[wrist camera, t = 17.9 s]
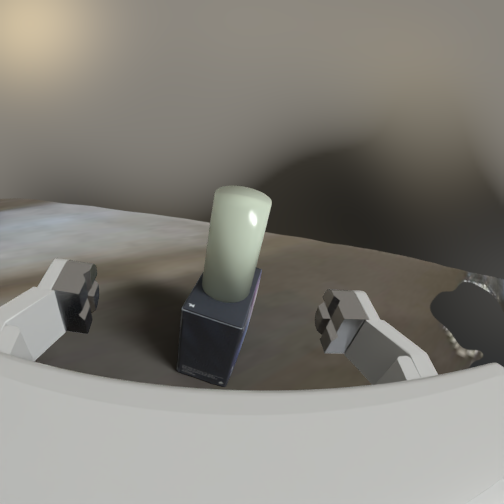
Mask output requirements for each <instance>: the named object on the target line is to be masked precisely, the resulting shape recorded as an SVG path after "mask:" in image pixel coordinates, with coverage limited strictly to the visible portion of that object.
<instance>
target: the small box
mask: <svg viewBox="0 0 504 504" xmlns="http://www.w3.org/2000/svg"><path fill="white" fill-rule="evenodd" d="M261 273H262V269H259V268H256V269H255V273H254V277H253V281H252V285H251V289H250V293H249V295H248V296H247V297H246V298H245V299H244V300H242V301H239V302H234V303H226V302H220V301H217V300H215V299H213V298H211V297H210V296H208V295H207V294H206V293H205V292H204V290H203V288H202V279H203V273H202V275H201V276H200V278H199V280H198V281H197V283H196V285H195V286H194V288H193V290H192V291H191V293H190V295H189V296H188V298H187V300H186V302H185V303H184V305H183V306H182V308H181V319H180V333H179V348H178V360H177V369H176V370H177V371H178V372H180V373H183V374H187V375H189V376H192V377H195V378H198V379H201V380H204V381H207V382H209V383H212V384H216V385H219V386H223V387H225V386H226V385H227V383H228V380H229V378H230V376H231V373H232V371H233V368H234V365H235V363H236V360H237V357H238V354H239V351H240V349H241V346H242V343H243V340H244V337H245V334H246V331H247V328H248V324H249V321H250V317H251V314H252V310H253V307H254V303H255V299H256V295H257V291H258V287H259V282H260V278H261Z"/></svg>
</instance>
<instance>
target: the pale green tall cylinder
mask: <svg viewBox="0 0 504 504" xmlns="http://www.w3.org/2000/svg"><path fill="white" fill-rule="evenodd" d="M271 204H272V202H271V199H270V198H269V197H268V196H267V195H265V194H264V193H261V192H260V191H257V190H255V189H251V188H247V187H242V186H224V187H220V188H218V189H217V190H216V191H215V196H214V202H213V208H212V214H211V222H210V228H209V235H208V242H207V249H206V256H205V264H204V272H203V279H202V288H203V290H204V292H205V293H206V294H207V295H208V296H210V297H211V298H213V299H215V300H217V301H220V302H226V303H234V302H239V301H242V300H244V299H245V298H246V297H247V296H248V295H249V293H250V289H251V285H252V281H253V277H254V273H255V269H256V265H257V261H258V257H259V253H260V249H261V245H262V241H263V237H264V233H265V229H266V224H267V220H268V216H269V212H270V208H271Z"/></svg>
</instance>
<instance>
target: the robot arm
mask: <svg viewBox="0 0 504 504" xmlns="http://www.w3.org/2000/svg"><path fill="white" fill-rule="evenodd" d="M96 276H97V269H96V265H95V264H92V263H85V262H79V261H73V260H66V259H60V258H56V259H54V260H53V262H52V263H51V265H50V267H49V268H48V270H47V272H46V273H45V275H44V277H43V278H42V280H41V282H40V284H39V285H38V287H33V288H31V289H29V290H28V291H26V292H24V293H23V294H21V295H19V296H18V297H16V298H14V299H13V300H11V301H9V302H8V303H6V304H5V305H3V306H1V307H0V504H504V367H502V366H501V365H499V364H497V363H489V364H485V365H482V366H478V367H474V368H469V369H465V370H460V371H456V372H451V373H446V374H441V375H438V374H437V372H436V370H435V368H434V366H433V364H432V362H431V361H430V359H429V357H428V355H427V353H426V352H424V351H423V350H422V349H420V348H419V347H418V346H417V345H415V344H414V343H413V342H411V341H410V340H409V339H407V338H406V337H405V336H404V335H402V334H401V333H400V332H398V331H397V330H396V329H394V328H393V327H392V326H390V325H389V324H388V323H387V322H385V321H384V320H380V318H379V317H378V315H377V313H376V311H375V309H374V307H373V305H372V303H371V302H370V300H369V298H368V296H367V294H366V293H365V292H364V291H354V290H352V291H348V290H334V289H327V291H326V292H325V293H324V295H323V300H324V302H323V303H322V304H321V305H319V306H318V308H317V311H316V313H315V326H316V329H317V331H318V332H319V333H320V334H322V336H321V338H320V341H321V344H322V347H323V350H324V353H345V354H344V355H345V356H346V357H347V358H348V359H349V360H350V361H351V362H352V363H353V364H354V365H355V366H356V368H357V369H358V370H359V371H360V372H361V373H362V374H363V375H364V376H365V377H366V378H367V379H368V380H369V382H370V383H371V384H372V385H366V386H356V387H345V388H331V389H314V390H283V391H251V390H220V389H202V388H189V387H177V386H167V385H158V384H149V383H141V382H134V381H127V380H120V379H114V378H108V377H102V376H97V375H91V374H86V373H81V372H76V371H71V370H67V369H62V368H58V367H54V366H49V365H45V364H41V363H37V362H34V361H35V360H36V359H37V358H38V357H39V356H40V355H41V354H42V353H43V352H45V351H46V350H47V349H48V348H49V347H50V346H51V345H52V344H53V343H54V342H55V341H56V340H57V339H59V338H60V337H61V336H62V335H63V334H64V333H65V332H66V331H71V332H77V333H83V334H88V332H89V329H90V326H91V323H92V314H91V313H93V312H94V311H96V308H97V305H98V299H99V285H98V283H97V282H96V281H95V278H96Z"/></svg>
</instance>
